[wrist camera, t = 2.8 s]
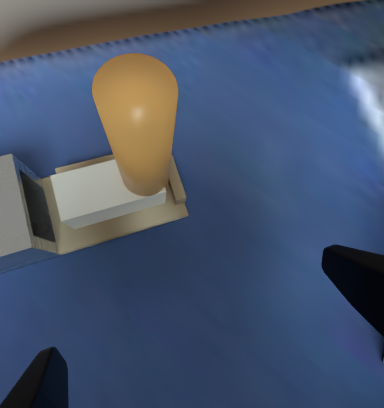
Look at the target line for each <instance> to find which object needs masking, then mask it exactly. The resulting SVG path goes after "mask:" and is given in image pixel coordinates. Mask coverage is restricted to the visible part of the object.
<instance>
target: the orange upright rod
mask: <svg viewBox="0 0 384 408" xmlns="http://www.w3.org/2000/svg"><path fill="white" fill-rule="evenodd" d="M92 94H93V99H94V102H95V104H96V107H97V110H98V113H99V116H100V118H101V121H102V124H103V127H104V130H105V132H106V135H107V138H108V141H109V144H110V146H111V149H112V152H113V155H114V158H115V159H114V160H110V161H106V162H102V163H98V164H94V165H91V166H87V167H83V168H79V169H75V170H71V171H67V172H63V173H59V174H55V175H51V176H50V177H51V181H52V185H53V189H54V194H55V198H56V202H57V206H58V210H59V215H60V219H61V222H63V223H65V224H67V225H68V226H70V227H72V228H73V229H78V228H81V227H85V226H88V225H92V224H95V223H99V222H102V221H105V220H109V219H112V218H116V217H119V216H123V215H126V214H130V213H133V212H136V211H140V210H143V209H147V208H150V207H154V206H157V205H161V204H164V203H165V200H166V194H167V188H168V179H169V171H170V162H171V153H172V145H173V136H174V127H175V119H176V110H177V101H178V84H177V81H176V79H175V76H174V75H173V73H172V71H171V70H170V69H169V68H168V67H167V66H166V65H165V64H164V63H162V62H161V61H159V60H158V59H156V58H154V57H151V56H148V55H145V54H138V53H129V54H123V55H119V56H116V57H114V58H112V59H110V60H108V61H107V62H106V63H104V64H103V65H102V66H101V67H100V69H99V70H98V71H97V73H96V75H95V77H94V80H93V84H92Z"/></svg>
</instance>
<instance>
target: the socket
mask: <svg viewBox="0 0 384 408" xmlns="http://www.w3.org/2000/svg"><path fill="white" fill-rule="evenodd" d="M60 255H61V254H59V253H58V248H57V244H56V240H55V235H54V231H53V227H52V222H51V218H50V214H49V209H48V205H47V201H46V196H45V192H44V188H43V183H42V179H41V178H40V177H39V176H38V175H36V174H35V173H34V172H33V171H32V170H31V169H29V168H28V167H27V166H26V165H25V164H24V163H22V162H21V161H20V160H19V159H18V158H17V157H15V156H14V155H13V154H8V155H3V156H0V273H4V272H7V271H10V270H13V269H17V268H20V267H23V266H27V265H30V264H33V263H37V262H40V261H43V260H46V259H50V258H53V257H56V256H60Z"/></svg>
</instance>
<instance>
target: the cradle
mask: <svg viewBox="0 0 384 408" xmlns="http://www.w3.org/2000/svg"><path fill="white" fill-rule="evenodd" d="M114 159H115V158H114V155H113V154H111V155H107V156H103V157H99V158H95V159H91V160H87V161H83V162H79V163H75V164H71V165H67V166H63V167H59V168H55V171H56V174H59V173H63V172H67V171H71V170H75V169H79V168H83V167H87V166H91V165H94V164H98V163H102V162H106V161H110V160H114ZM42 183H43V188H44V192H45V196H46V201H47V205H48V209H49V214H50V218H51V222H52V227H53V231H54V235H55V240H56V244H57V248H58V253H59V254H61V255H63V254H66V253H70V252H73V251H76V250H79V249H83V248H86V247H89V246H93V245H96V244H99V243H102V242H106V241H109V240H112V239H116V238H119V237H122V236H126V235H129V234H132V233H135V232H139V231H142V230H145V229H149V228H152V227H155V226H158V225H162V224H165V223H168V222H172V221H175V220H178V219H182V218H185V217H188V215H189V214H188V211H187V208H186V205H185V201H186V198H187V197H186V194H185V191H184V188H183V185H182V182H181V179H180V176H179V173H178V170H177V167H176V164H175V161H174V158H173V155H172V153H171V162H170V171H169V179H168V188H167V194H166V200H165V203H164V204H161V205H157V206H154V207H150V208H147V209H143V210H140V211H136V212H133V213H130V214H126V215H123V216H119V217H116V218H112V219H109V220H105V221H102V222H99V223H95V224H92V225H88V226H85V227H81V228H78V229H73V228H72V227H70V226H68V225H67V224H65V223H63V222H61V219H60V215H59V210H58V206H57V202H56V198H55V194H54V189H53V185H52V181H51V177H46V178H42Z"/></svg>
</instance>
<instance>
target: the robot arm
mask: <svg viewBox="0 0 384 408" xmlns="http://www.w3.org/2000/svg"><path fill="white" fill-rule="evenodd" d="M321 265H322V269H323V271H324V273H325V274H326V275H327V276H328V278H329V279H330V280H331V281H332V282H333V284H334V285H335V286H336V287H337V289H338V290H339V291H340V292H341V293H342V295H343V296H344V297H345V298H346V299H347V301H348V302H349V303H350V304H351V305H352V306H353V307H354V308H355V309H356V310H357V311H358V312H359V313H360V314H361V315H362V316H363V317H364V318H365V319H366V320H367V321H368V322H369V323H370V324H371V325H372V326H373V327H374V328H375V329H376V330H377V331H378V332H379V333H380V334H381V335H382V336H383V337H384V255H380V254H376V253H371V252H367V251H363V250H358V249H354V248H349V247H345V246H340V245H331V246H328V247H326V248H324V250H323V256H322V264H321ZM0 408H69V407H68V368H67V364H66V361H65V360H64V358H63V357H62V355H61V354H60V353H59V351H58V350H57V348H56V347H50V348H47V349H45V350H42V351H40V352H39V353H38V354H37V356H36V357H35V358H34V360H33V361H32V362H31V364H30V365H29V367H28V368H27V369H26V371H25V372H24V373H23V375H22V376H21V377H20V379H19V380H18V382H17V383H16V384H15V386H14V387H13V388H12V390H11V391H10V392H9V394H8V395H7V397H6V398H5V399H4V401H3V402H2V403H1V405H0Z"/></svg>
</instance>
